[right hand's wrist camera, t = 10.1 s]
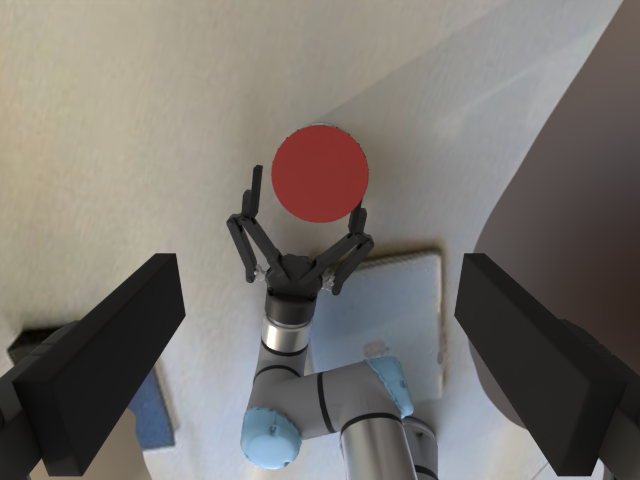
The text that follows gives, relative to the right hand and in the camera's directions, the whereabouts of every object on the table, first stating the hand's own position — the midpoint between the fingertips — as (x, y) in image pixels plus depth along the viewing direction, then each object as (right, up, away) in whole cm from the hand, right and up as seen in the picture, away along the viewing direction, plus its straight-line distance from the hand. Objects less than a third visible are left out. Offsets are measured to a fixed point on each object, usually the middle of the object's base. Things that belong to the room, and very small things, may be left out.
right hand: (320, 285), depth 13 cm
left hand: (-1, +10, +32) cm, 34 cm away
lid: (0, +8, +21) cm, 23 cm away
